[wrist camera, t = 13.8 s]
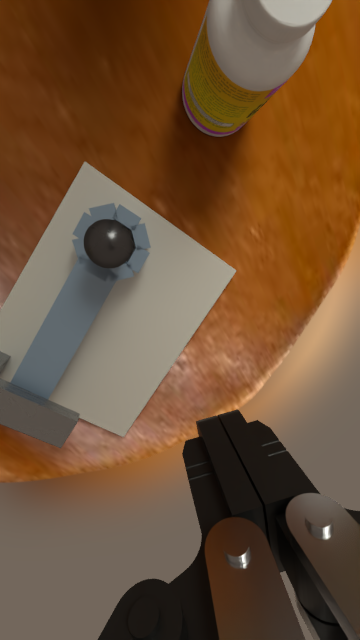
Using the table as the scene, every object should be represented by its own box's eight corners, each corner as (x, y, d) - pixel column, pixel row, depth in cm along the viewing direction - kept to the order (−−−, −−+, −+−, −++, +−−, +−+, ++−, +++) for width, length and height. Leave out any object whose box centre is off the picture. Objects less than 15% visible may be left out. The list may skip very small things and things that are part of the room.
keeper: (-11, 340, 28) (-48, 366, 22) (87, 387, 31) (77, 421, 25) (-25, 365, 28) (-65, 397, 22) (73, 409, 31) (60, 448, 25)
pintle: (108, 219, 27) (99, 208, 19) (137, 238, 28) (141, 237, 19) (91, 248, 27) (74, 251, 19) (120, 266, 28) (117, 277, 20)
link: (100, 194, 25) (96, 188, 22) (158, 233, 27) (162, 232, 24) (4, 371, 28) (-10, 386, 25) (63, 396, 29) (56, 413, 27)
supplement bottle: (231, 153, 27) (314, 81, 15) (168, 114, 26) (204, -3, 13) (264, 80, 26) (383, -62, 14) (200, 34, 24) (272, -173, 12)
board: (86, 164, 25) (84, 161, 24) (233, 269, 30) (236, 270, 29) (-28, 364, 28) (-33, 368, 27) (123, 431, 33) (123, 437, 32)
